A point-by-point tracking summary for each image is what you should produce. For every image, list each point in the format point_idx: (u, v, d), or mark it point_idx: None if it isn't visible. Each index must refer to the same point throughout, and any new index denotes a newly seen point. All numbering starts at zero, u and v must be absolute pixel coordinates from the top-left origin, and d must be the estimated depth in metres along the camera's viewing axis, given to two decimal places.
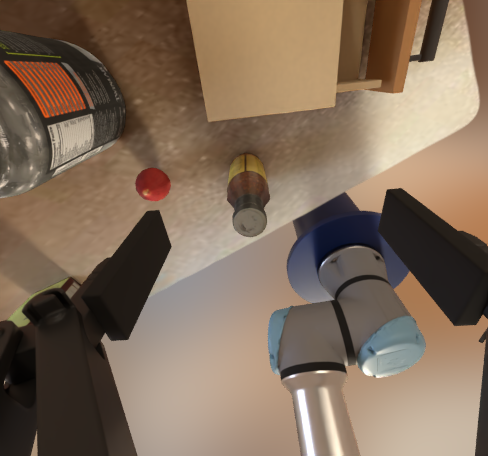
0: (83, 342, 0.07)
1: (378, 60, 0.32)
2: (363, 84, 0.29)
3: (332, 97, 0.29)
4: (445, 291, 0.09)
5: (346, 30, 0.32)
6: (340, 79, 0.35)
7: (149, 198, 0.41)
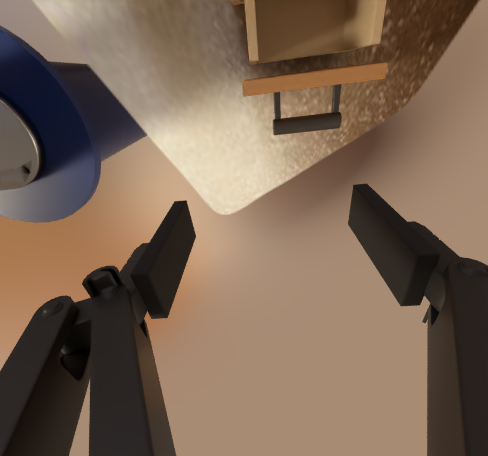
0: (131, 319, 0.08)
1: None
2: (253, 29, 0.20)
3: None
4: (394, 275, 0.10)
5: (309, 29, 0.26)
6: (256, 34, 0.26)
7: None
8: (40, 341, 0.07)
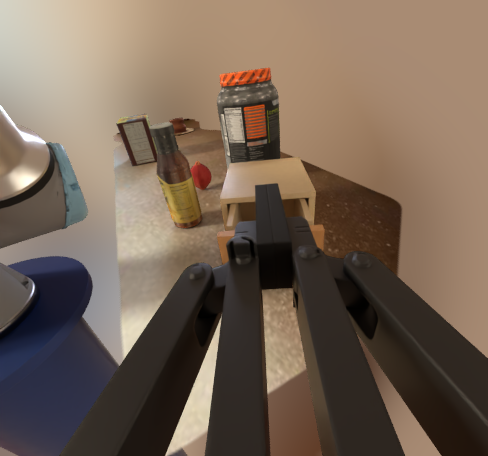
0: (259, 293, 0.08)
1: None
2: (231, 217, 0.33)
3: (226, 197, 0.35)
4: None
5: None
6: None
7: (193, 166, 0.63)
8: (184, 301, 0.08)
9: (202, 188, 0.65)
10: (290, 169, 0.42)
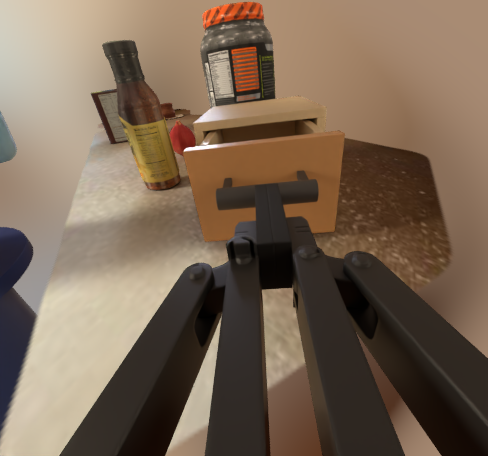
0: (259, 293, 0.08)
1: None
2: (208, 139, 0.23)
3: (202, 121, 0.25)
4: None
5: None
6: None
7: (173, 127, 0.53)
8: (184, 301, 0.08)
9: None
10: (289, 101, 0.32)
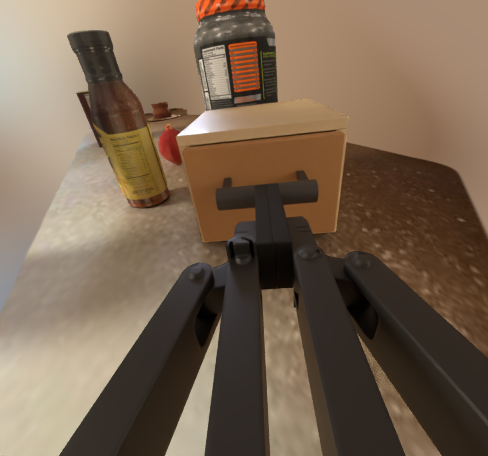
0: (258, 293, 0.08)
1: None
2: None
3: (189, 133, 0.20)
4: None
5: None
6: None
7: (163, 132, 0.47)
8: (183, 301, 0.08)
9: (177, 162, 0.49)
10: (297, 106, 0.27)
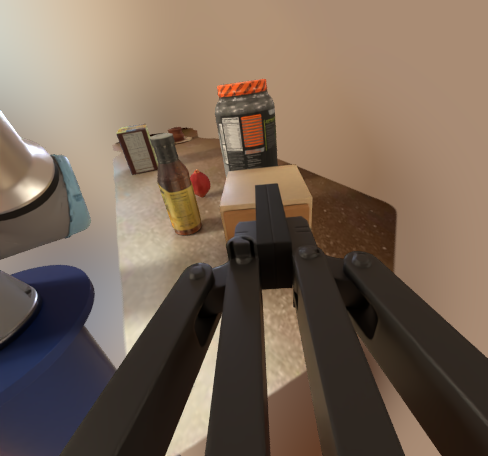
0: (259, 293, 0.08)
1: None
2: None
3: (226, 204, 0.36)
4: None
5: None
6: None
7: (192, 174, 0.64)
8: (184, 301, 0.08)
9: (201, 196, 0.66)
10: (287, 176, 0.43)
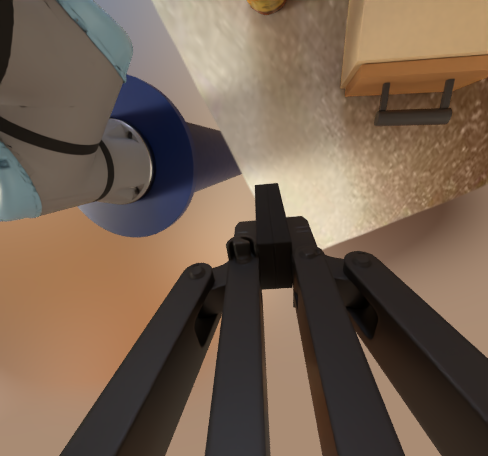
0: (259, 293, 0.08)
1: None
2: None
3: (370, 55, 0.23)
4: None
5: None
6: None
7: None
8: (184, 301, 0.08)
9: None
10: None
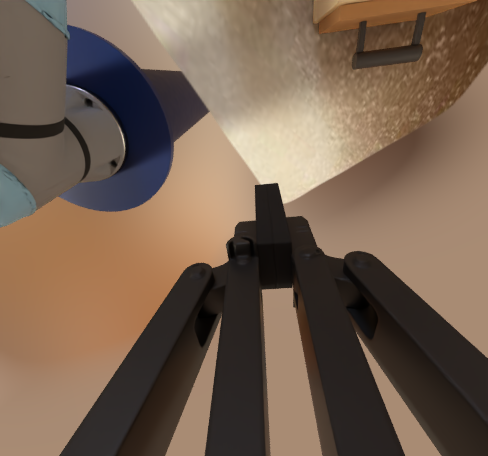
0: (259, 293, 0.08)
1: None
2: None
3: None
4: None
5: None
6: None
7: None
8: (184, 301, 0.08)
9: None
10: None
